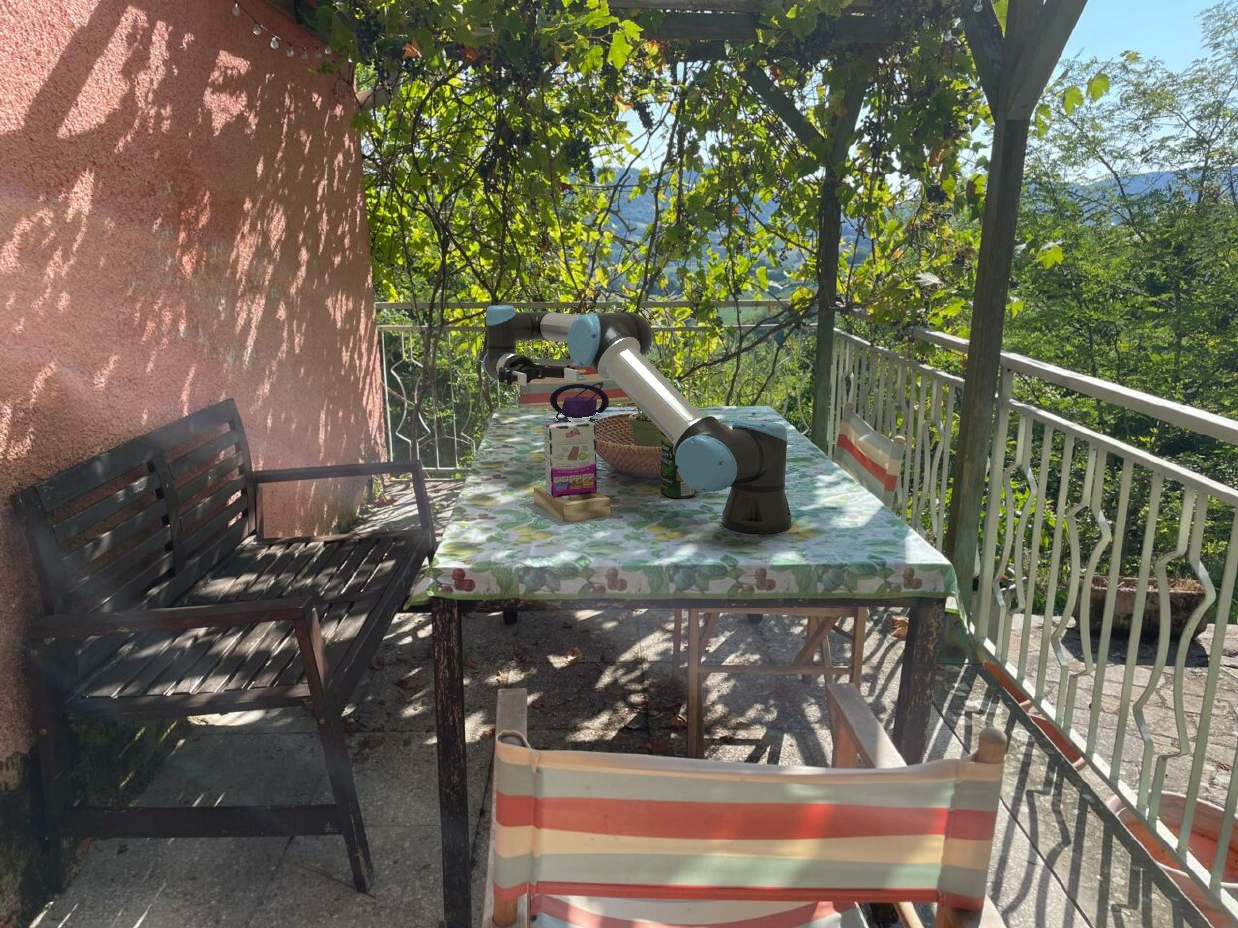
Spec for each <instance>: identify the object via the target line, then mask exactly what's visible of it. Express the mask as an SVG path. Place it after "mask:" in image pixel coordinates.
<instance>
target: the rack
mask: <svg viewBox="0 0 1238 928" xmlns="http://www.w3.org/2000/svg"><path fill="white" fill-rule="evenodd" d="M567 498H568V499H569V500H571V501H572V502H570V501H568V500H566V499H564V497H563V496H561V497H551V496H550V495H549V494H547V492H546V487H543V486H536V487H533V503H534V504H535V505H537V506H539V507H540V508H542V509H544V510H546V511H547V512H549V513H551V514H553V515H554V516H556V517H558V518H560V519H561V520H563V521H565V522H573V521H579V520H586V519H592V518H598V517H604V516H610V509H611V498H610V497H608V496H606V495H604V494H601V493H600V492H598V491H597V492H596V493H588V494H579V495H570V496H567Z"/></svg>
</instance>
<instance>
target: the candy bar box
mask: <svg viewBox="0 0 1238 928" xmlns="http://www.w3.org/2000/svg"><path fill="white" fill-rule="evenodd" d="M596 427H597V426H596V423H595V422H593V421H591V420H590V421H575V422H569V421H567V422H554V423H544V424H543V431H544V432H543V434H544V436H543V437H544V439H543V440H544V465H545V467H544V468H545V489H546V492H547V494H549V495H550V496H551V497H568V496H570V495H579V494H588V493H596V492H597V493H598V491H597V490H598V489H597V488H598V485H597V483H598V482H597V480H598V478H597V477H598V476H597V439H596V438H597V436H596V434H597V433H596V432H597V431H596V430H597V429H596Z"/></svg>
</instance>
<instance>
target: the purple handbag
mask: <svg viewBox="0 0 1238 928" xmlns="http://www.w3.org/2000/svg"><path fill="white" fill-rule="evenodd" d="M571 365H572V367H575V368H576V367H577V368H576V370H578V371H579V374H586V373H587V369H584V368H583V367H582V366H578V365H577V364H575V363H574V362H572V363H571ZM582 368H583V369H582ZM586 379H587V376H585V375H579V381H583V380H586ZM596 386H599V387H596ZM603 387H604V382H602V381H600V382H597V383H594V384H592V385H589V384H585V383H572V384H566V385H564V386H561V387H558V388H557V389H556V390H554V391H553V392H552V394H551V395H550V397H549V404H550V406H551V407H552V408H553V410H554V411H556V412H557V413H556V415H555V416H554V418H555V417H556V418H557V419H558V420H559V421H558V422H560V421H564V420H565V419H566V418H567V417H572V418H582V417H589V416H593V415H595V414H596V412H598V413H600V414H602V413H603V412H604V411H606V410H607V409H608V407H609V403H610V399H609V397H608V394H607V393H606V392H604V391H603V390H602V388H603ZM572 389H581V391H580V392H578V393H577V394H576V395H575V396H568V397H565V396H564V400H563V402H562V406H561V407H560V405H558V397H559V396H560V395H561V394H562V393H564V392H566V391H568V390H572ZM588 390H589V391H592V392H594V394H592V397H590V396H580V395H581V394H584V392H586V391H588ZM597 395H598V397H600V399H601V403H600V404H601V405H599V407H598V408H597V404H598V398H595V397H596V396H597ZM561 413H562V414H563V415H562V414H561ZM559 415H562V416H563V417H561V418H559ZM593 417H594V416H593Z"/></svg>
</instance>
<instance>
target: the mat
mask: <svg viewBox="0 0 1238 928" xmlns="http://www.w3.org/2000/svg"><path fill="white" fill-rule="evenodd" d="M563 498H564V497H563ZM564 499H566V500H568V501H570V502H572V501H571V500H569V499H568V497H565V498H564ZM522 505H523V506H525V507H526V508H528V509H529V510H532V511H533V512H535V513H537V514H538V515H540V516H541V517H543V518H545V519H547V520H549V521H550V522H551V523H553V524H555V525H557V526H559V527H562V526H568V525H569V526H570V525H575V524H580V523H587V522H592V521H593V522H594V521H601V520H607V519H612V518H619V517H624V515H623V514H621V513H620V512H617V511H615V510H613V509H611V508H610V516H604V517H598V518H592V519H586V520H579V521H573V522H565V521H563V520H561V519H560V518H558V517H556V516H554V515H553V514H551V513H549V512H547V511H546V510H544V509H542V508H540V507H539V506H537V505H535V504H534V502H529V503H523V504H522Z"/></svg>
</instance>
